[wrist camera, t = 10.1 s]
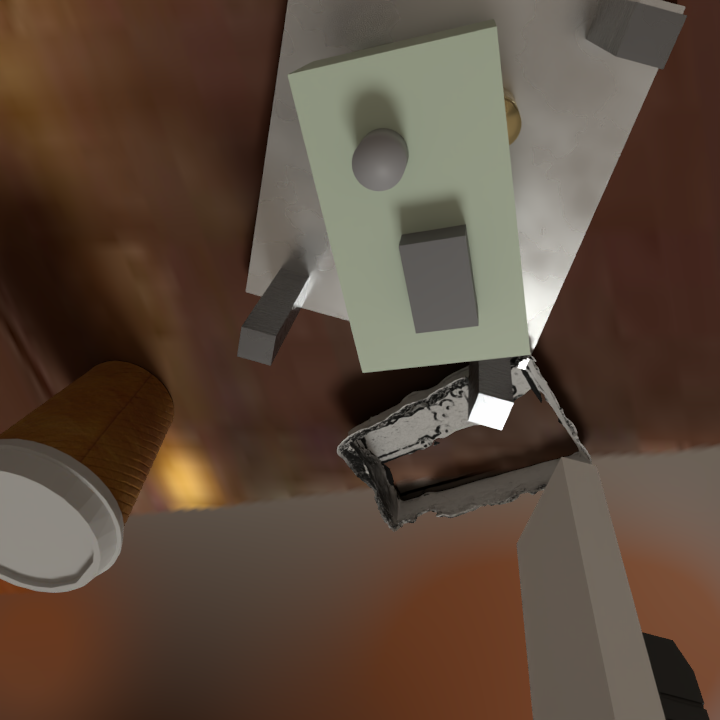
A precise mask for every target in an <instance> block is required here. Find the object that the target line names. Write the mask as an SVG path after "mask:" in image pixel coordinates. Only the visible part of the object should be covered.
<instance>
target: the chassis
mask: <svg viewBox="0 0 720 720" xmlns="http://www.w3.org/2000/svg"><path fill="white" fill-rule="evenodd" d="M684 10H685V7H684V6H681V5H677V4H673V3H670V2H666V1H662V0H288V4H287V11H286V18H285V25H284V32H283V39H282V46H281V53H280V60H279V66H278V73H277V80H276V87H275V94H274V101H273V108H272V115H271V122H270V129H269V135H268V142H267V149H266V156H265V163H264V170H263V177H262V184H261V191H260V197H259V204H258V211H257V218H256V225H255V232H254V239H253V246H252V253H251V260H250V266H249V273H248V280H247V287H246V292H248V293H251V294H255V295H258V296H262V297H261V298H260V300H259V301H258V303H257V304H256V306H255V307H254V309H253V310H252V312H251V313H250V315H249V316H248V318H247V319H246V321H245V322H244V324H243V325H242V327H241V334H240V341H239V348H238V355H237V356H239V357H242V358H246V359H249V360H253V361H256V362H260V363H263V364H267V365H271V364H272V362H273V360H274V358H275V356H276V355H277V353H278V351H279V349H280V347H281V345H282V343H283V341H284V339H285V337H286V336H287V334H288V332H289V330H290V328H291V326H292V324H293V322H294V320H295V318H296V317H297V315H298V313H299V311H300V309H301V308H305V309H309V310H312V311H316V312H319V313H323V314H326V315H330V316H334V317H337V318H341V319H344V320H348V321H349V317H348V313H347V309H346V305H345V301H344V297H343V293H342V289H341V285H340V281H339V277H338V273H337V269H336V265H335V262H334V258H333V254H332V250H331V246H330V242H329V238H328V234H327V230H326V226H325V222H324V218H323V214H322V210H321V206H320V202H319V198H318V194H317V190H316V186H315V182H314V178H313V174H312V170H311V166H310V162H309V158H308V154H307V150H306V146H305V143H304V139H303V135H302V131H301V127H300V123H299V119H298V115H297V111H296V107H295V103H294V99H293V95H292V91H291V87H290V83H289V79H288V74H290V73H292V72H293V71H295V70H297V69H299V68H301V67H303V66H305V65H307V64H309V63H311V62H313V61H317V60H321V59H325V58H329V57H334V56H338V55H342V54H346V53H351V52H355V51H359V50H364V49H368V48H372V47H376V46H381V45H385V44H389V43H393V42H398V41H402V40H406V39H411V38H415V37H419V36H423V35H428V34H432V33H436V32H440V31H445V30H449V29H453V28H458V27H462V26H466V25H470V24H475V23H479V22H483V21H487V20H492V19H494V21H495V23H496V26H497V33H498V43H499V53H500V63H501V72H502V82H503V92H504V102H505V111H506V121H507V131H508V140H509V150H510V160H511V170H512V179H513V189H514V199H515V209H516V218H517V228H518V238H519V247H520V257H521V267H522V277H523V286H524V296H525V306H526V315H527V325H528V335H529V345H530V352H531V355H532V352H533V350H534V348H535V346H536V343H537V341H538V339H539V336H540V334H541V332H542V330H543V327H544V325H545V323H546V321H547V318H548V316H549V314H550V312H551V309H552V307H553V305H554V303H555V300H556V298H557V296H558V294H559V291H560V289H561V287H562V285H563V282H564V280H565V278H566V276H567V273H568V271H569V269H570V267H571V264H572V262H573V260H574V258H575V255H576V253H577V251H578V249H579V246H580V244H581V242H582V240H583V237H584V235H585V233H586V231H587V228H588V226H589V224H590V221H591V219H592V217H593V215H594V212H595V210H596V208H597V206H598V203H599V201H600V199H601V197H602V194H603V192H604V190H605V188H606V185H607V183H608V181H609V179H610V176H611V174H612V172H613V170H614V167H615V165H616V163H617V161H618V158H619V156H620V154H621V152H622V149H623V147H624V145H625V143H626V140H627V138H628V136H629V134H630V131H631V129H632V127H633V125H634V122H635V120H636V118H637V116H638V113H639V111H640V109H641V106H642V104H643V102H644V100H645V97H646V95H647V93H648V91H649V88H650V86H651V84H652V82H653V79H654V77H655V75H656V73H657V70H658V68H660V69H663V68H664V66H665V64H666V62H667V60H668V57H669V55H670V53H671V51H672V48H673V46H674V44H675V42H676V39H677V37H678V35H679V33H680V30H681V28H682V26H683V24H684V22H685V19H686V17H687V15H683V12H684ZM528 361H529V359H527V360H523V361H521V362H520V363H519V365H518V367H517V368H520V369H523V370H525V368H526V366H527V364H528ZM513 404H514V399H513V388H512V377H511V366H510V357H505V358H496V359H487V360H478V361H469V386H468V421H470V422H474V423H477V424H481V425H485V426H488V427H492V428H495V429H499V430H502V428H503V426H504V424H505V422H506V419H507V417H508V415H509V413H510V410H511V408H512V406H513Z"/></svg>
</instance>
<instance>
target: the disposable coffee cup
mask: <svg viewBox="0 0 720 720" xmlns="http://www.w3.org/2000/svg"><path fill="white" fill-rule="evenodd" d="M173 416H174V406H173V403H172V399H171V397H170V395H169V393H168V391H167V390H166V388H165V387H164V385H163V384H162V383H161V382H160V381H159V380H158V379H157V378H156V377H155V376H154V375H152V374H151V373H149V372H148V371H146V370H145V369H143V368H141V367H139V366H137V365H134V364H131V363H128V362H122V361H108V362H104V363H100V364H98V365H96V366H94V367H93V368H92V369H91V370H89V371H88V372H87V373H85V374H84V375H82V376H81V377H80V378H78V379H77V380H75V381H74V382H73V383H71V384H70V385H68V386H67V387H66V388H64V389H63V390H62V391H60V392H59V393H57V394H56V395H54V396H53V397H52V398H50V399H49V400H48V401H46V402H45V403H44V404H42V405H41V406H40V407H38V408H37V409H35V410H34V411H32V412H31V413H30V414H28V415H27V416H25V417H24V418H23V419H21V420H20V421H18V422H17V423H16V424H15V425H13V426H11V427H10V428H9V429H8V430H6V431H5V432H3V433H2V434H1V435H0V578H1V579H3V580H5V581H7V582H9V583H12V584H14V585H17V586H20V587H24V588H28V589H31V590H35V591H42V592H54V593H55V592H67V591H70V590H74V589H77V588H79V587H82V586H85V585H86V584H87V583H88V582H89V581H91V580H92V579H93V578H94V577H95V576H97V575H99V574H101V573H102V572H104V571H106V570H107V569H109V568H110V567H111V565H113V564H114V562H115V561H116V559H117V557H118V555H119V553H120V552H121V547H122V541H123V530H124V526H125V523H126V522H127V519H128V517H129V516H128V515H129V514H130V513H131V511H132V508H133V506H134V504H135V502H136V499H137V498H138V495H139V493H140V490H141V489H142V486H143V483H144V482H145V480H146V478H147V475H148V473H149V471H150V468H151V467H152V464H153V461H154V460H155V458H156V456H157V455H156V454H157V453H158V451H159V449H160V447H161V445H162V441H163V440H164V438H165V435H166V434H167V431H168V429H169V427H170V425H171V423H172V421H173Z"/></svg>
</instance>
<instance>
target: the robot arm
mask: <svg viewBox="0 0 720 720" xmlns="http://www.w3.org/2000/svg"><path fill="white" fill-rule="evenodd" d="M517 552H518V562H519V573H520V584H521V595H522V605H523V615H524V626H525V637H526V647H527V658H528V669H529V679H530V690H531V700H532V711H533V720H709V717H708V714H707V710H705V709H704V708H703V705H704V701H703V699H702V696H701V693H700V689H699V687H698V683H697V680H696V677H695V674H694V671H693V670H692V668H691V667H690V665H689V664H688V662H687V661H686V659H685V658H684V656H683V655H682V653H681V652H680V650H679V649H678V648H677V646H676V644H675V643H674V642H673V640H669V639H666V638H662V637H658V636H654V635H650V634H646V633H642V631H641V627H640V624H639V620H638V616H637V612H636V609H635V605H634V601H633V598H632V594H631V590H630V587H629V583H628V579H627V576H626V572H625V568H624V564H623V561H622V557H621V553H620V550H619V546H618V542H617V539H616V535H615V532H614V528H613V524H612V520H611V517H610V513H609V510H608V506H607V502H606V498H605V495H604V491H603V487H602V483H601V480H600V476H599V472H598V469H597V466H595V465H592V464H588V463H584V462H580V461H576V460H572V459H569V458H565V457H561V459H560V461H559V463H558V465H557V466H556V468H555V470H554V472H553V474H552V476H551V478H550V480H549V482H548V484H547V486H546V488H545V490H544V492H543V494H542V496H541V498H540V499H539V502H538V503H537V505H536V507H535V509H534V511H533V513H532V515H531V517H530V519H529V521H528V523H527V525H526V527H525V529H524V531H523V533H522V534H521V537H520V539H519V541H518V542H517Z"/></svg>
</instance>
